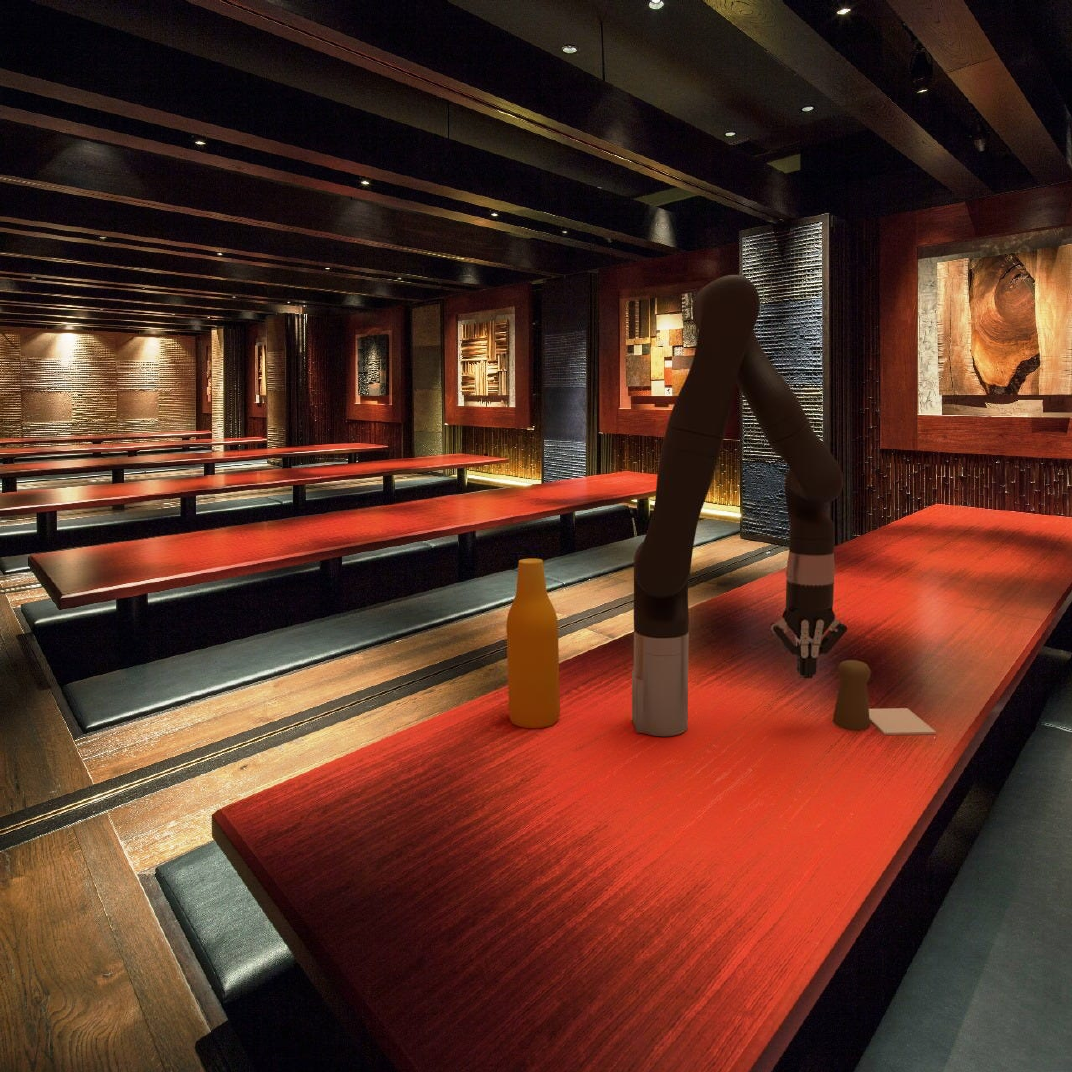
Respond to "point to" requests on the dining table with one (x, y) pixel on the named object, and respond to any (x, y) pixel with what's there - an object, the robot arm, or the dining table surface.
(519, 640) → the beer bottle
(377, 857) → the dining table surface
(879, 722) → the mat
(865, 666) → the cork
